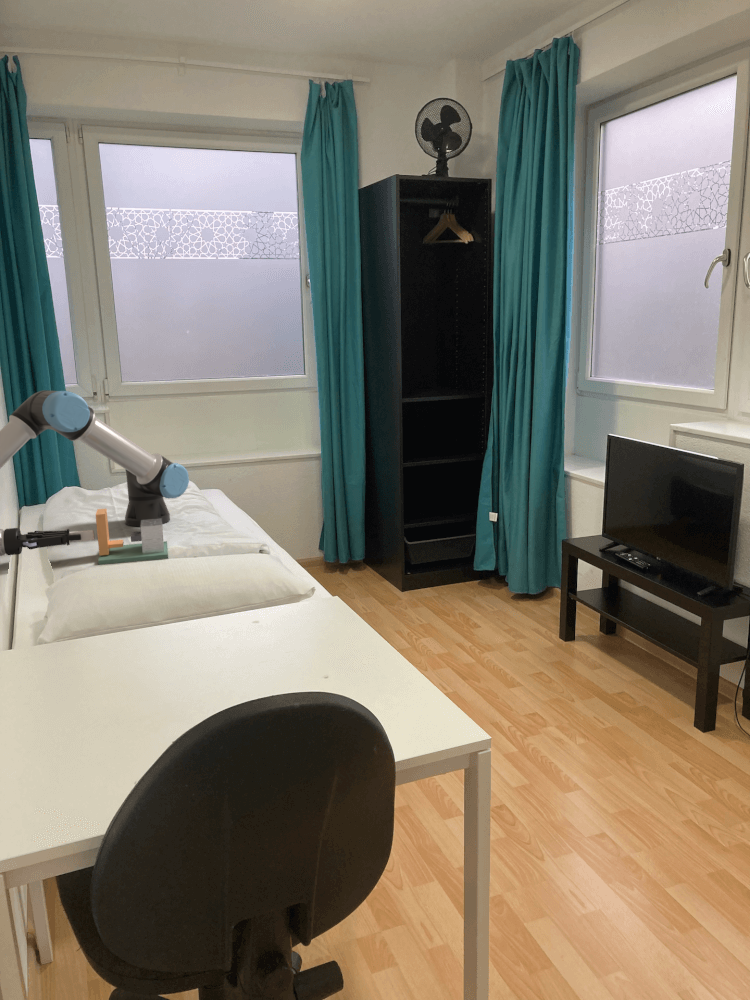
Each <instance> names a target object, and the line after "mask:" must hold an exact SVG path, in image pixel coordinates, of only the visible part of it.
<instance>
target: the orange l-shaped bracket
mask: <svg viewBox="0 0 750 1000" xmlns="http://www.w3.org/2000/svg"><path fill="white" fill-rule="evenodd" d="M95 523H96V534H97V541H98V542H97V544H98V552H99V553H98V554H99V556H101V555H109V551H110V548H116V547H123V545H124V544H125V543H124V539H114V540H110V530H109V522H108V510H107V508H97V510H96V512H95Z"/></svg>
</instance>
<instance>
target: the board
mask: <svg viewBox="0 0 750 1000" xmlns="http://www.w3.org/2000/svg"><path fill="white" fill-rule="evenodd" d="M165 559H167V560H168V559H169V551H168V541H164V552H160V553H148V554H143V551H142V542H141V543H132V544H130V543H129V544H123V547H116V548H110V551H109V555H101V556H100V555H99V556H98V559H97V560H98V565H99V566H100V565H108V564H109V565H110V564H120V563H122V564H123V563H130V562H131V563H132V562H143V561H152V560H153V561H155V560H165Z"/></svg>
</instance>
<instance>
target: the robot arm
mask: <svg viewBox="0 0 750 1000" xmlns="http://www.w3.org/2000/svg"><path fill="white" fill-rule="evenodd" d="M95 412H96V411H95V410H94V408H92V407H90V406H89V405H88V402H87V401H86V400H85V399H84V398H83V397H82V396H81V395H79V394H77V393H75V392H72V391H69V390H68V391H67V390H45V389H44V390H40V391H38V392H35V393H33V394H32V395H30V396H29V397H28V398H27V399H26V400H24V402H22V404H20V405H19V406H18V407H17V408H16V409H15V410H14V411H13V412H12V413H11V414H10V415H9V417H8V418H9V420H8V422H7V423H6V425H5V426H3V427H2V428H1V429H0V470H1V468H3V467H4V465H6V464H7V463H8V462H9V461H10V460H11V458H12V457H13V456H15V454H16V453H18V452H19V451H20V449H21V448H23V446H24V445H25V444H26V443H27V442H29V440H30V439H36V438H38V436H39V435H40V434H41V433H43V432H45V431H46V430H52V431H54V432H57V433H58V434H60V435H61V436H62V437H65V439H68V441H71V442H76V441H79V442H82V443H83V444H85V445H87V446H88V447H90V448H91V449H93V450H95V451H96V452H97V453H99V454H100V455H102V456H104V457H106V458H107V459H109V460H111V461H112V462H113V463H115V464H116V465H118V466H120V467H121V468H123V469H125V474H126V486H127V497H128V503H127V508H126V511H125V515H124V522H125V523H126V524H127V526H130V525H131V527H141V520H148V519H161V518H162V525H163V524H166V523H169V522H170V521H171V516H170V512H169V509H168V507H167V505H166V502H165V499H177V498H179V497H182V495H184V493H185V492H186V490H187V489H188V487H189V483H190V478H189V476H190V475H189V472H188V470H187V468H185V466H184V465H182V464H180V463H177V462H172V461H171V460H169V459H167V458H166V457H164V456H163V455H162V454H160V453H157V452H156V453H152V454H151V452H149V451H147V450H145V449H144V448H143V447H141V446H140V445H138V444H137V443H135V442H134V441H133V440H131V439H130V438H127V436H125V435H123V434H122V433H120V432H119V431H118V430H116V429H114V428H113V427H112V426H110V425H108V424H107V423H105V422H103V421H102V420H101V419H99V418H98V417H97V416H96V413H95ZM164 498H165V499H164ZM125 523H124V524H125ZM126 524H125V525H126ZM88 541H95V534H94V529H89V530H87V529H86V530H78V531H77V530H76V531H70V529H69V528H67V529H65V530H35V531H28V532H26V533H24V534H22V532H21V530H20V528H18V527H13V528H12V527H11V528H10V527H9V528H5V529H3V528H0V557H2V556H5V555H7V556H15V555H17V556H18V555H20V554H22V551H23V548H27V549H28V550H34V549H40V548H47V547H54V546H55V547H57V546H60V545H61V546H62V545H63V546H64V545H66V546H69V545H70V543H73V542H74V543H75V542H76V543H77V542H88Z"/></svg>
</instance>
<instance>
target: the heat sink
mask: <svg viewBox="0 0 750 1000" xmlns="http://www.w3.org/2000/svg"><path fill="white" fill-rule="evenodd" d="M130 541H131V543H132V542H141V543H142V551H143V554H148V553H160V552H164V542H165V541H164V532H163V524H162V518H161V519H148V520H141V526H140V530H139V531H131V532H130Z"/></svg>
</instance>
